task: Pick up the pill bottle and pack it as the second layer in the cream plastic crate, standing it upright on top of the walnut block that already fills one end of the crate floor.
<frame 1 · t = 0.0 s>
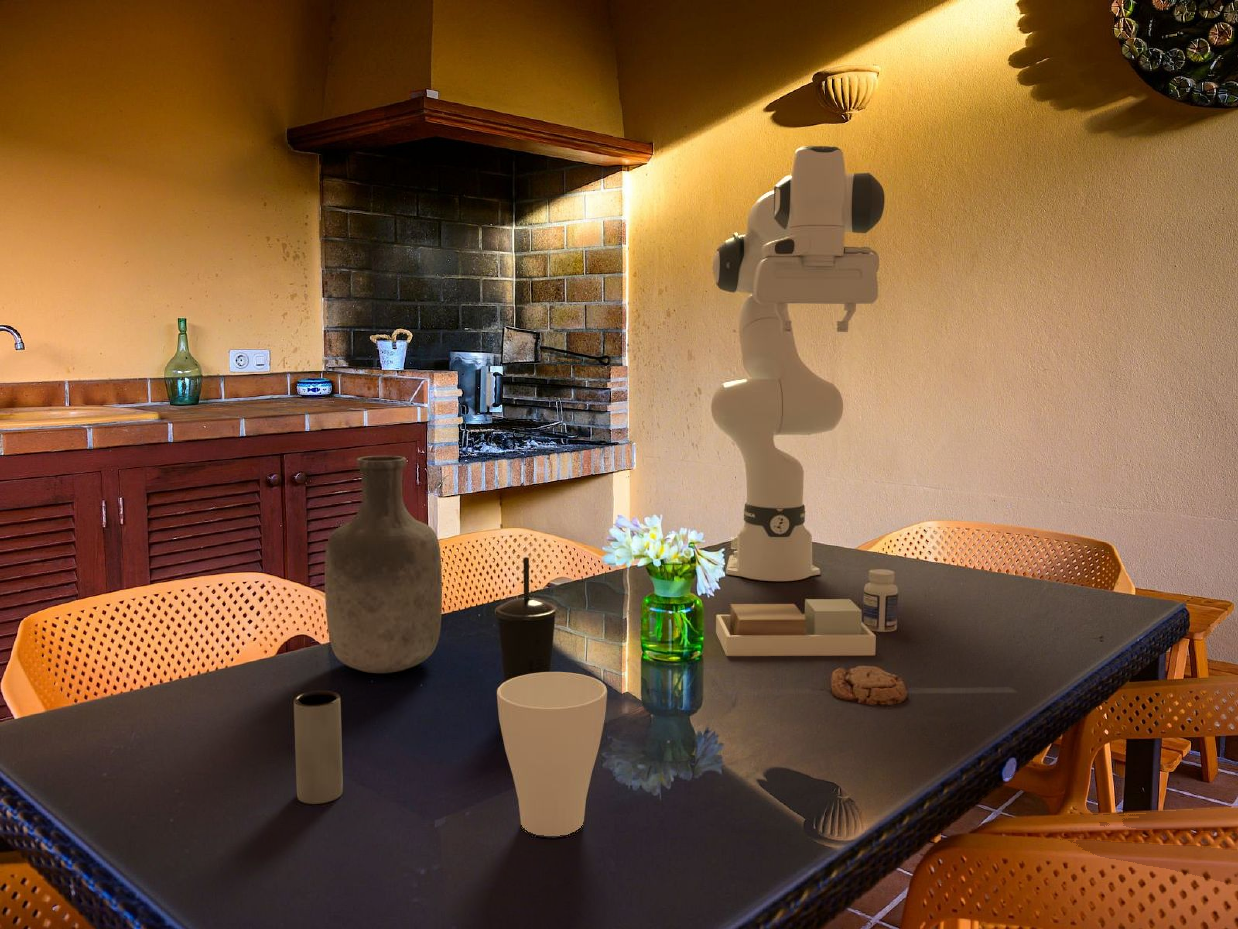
hand: (814, 331, 170), 48 cm above the table, fingers open, 8 cm apart
pill bottle: (879, 631, 167), on the table
planter: (320, 796, 106), on the table
cup: (552, 826, 100), on the table
cookie: (867, 695, 138), on the table
vase: (386, 669, 146), on the table
crate: (792, 647, 157), on the table
walnut block: (766, 643, 157), point 1 cm above the table, touching crate
pale green block: (831, 643, 157), point 1 cm above the table, touching crate
drinking cup: (527, 717, 128), on the table
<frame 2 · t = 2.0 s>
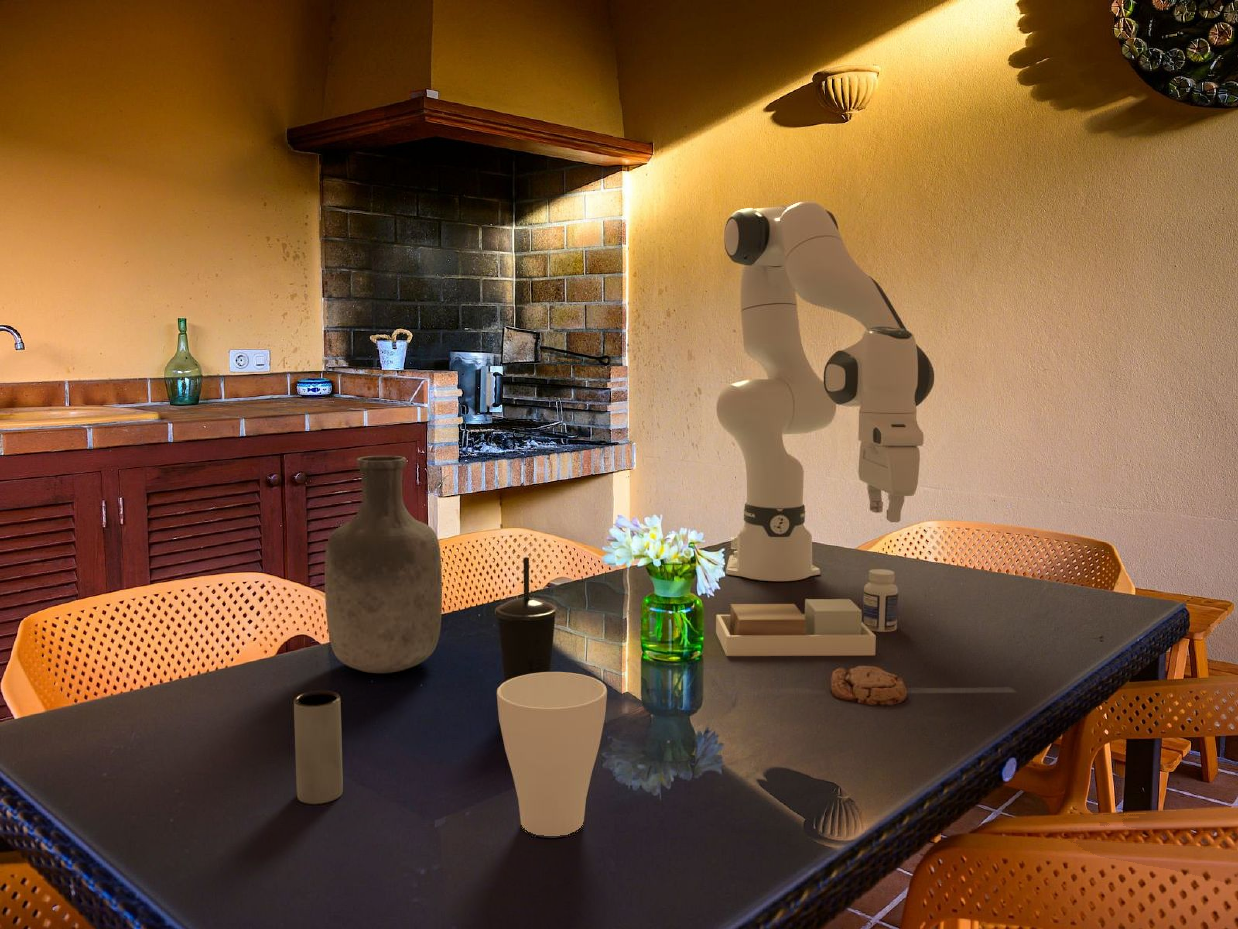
hand: (884, 516, 164), 19 cm above the table, fingers open, 8 cm apart
nothing on the table moved.
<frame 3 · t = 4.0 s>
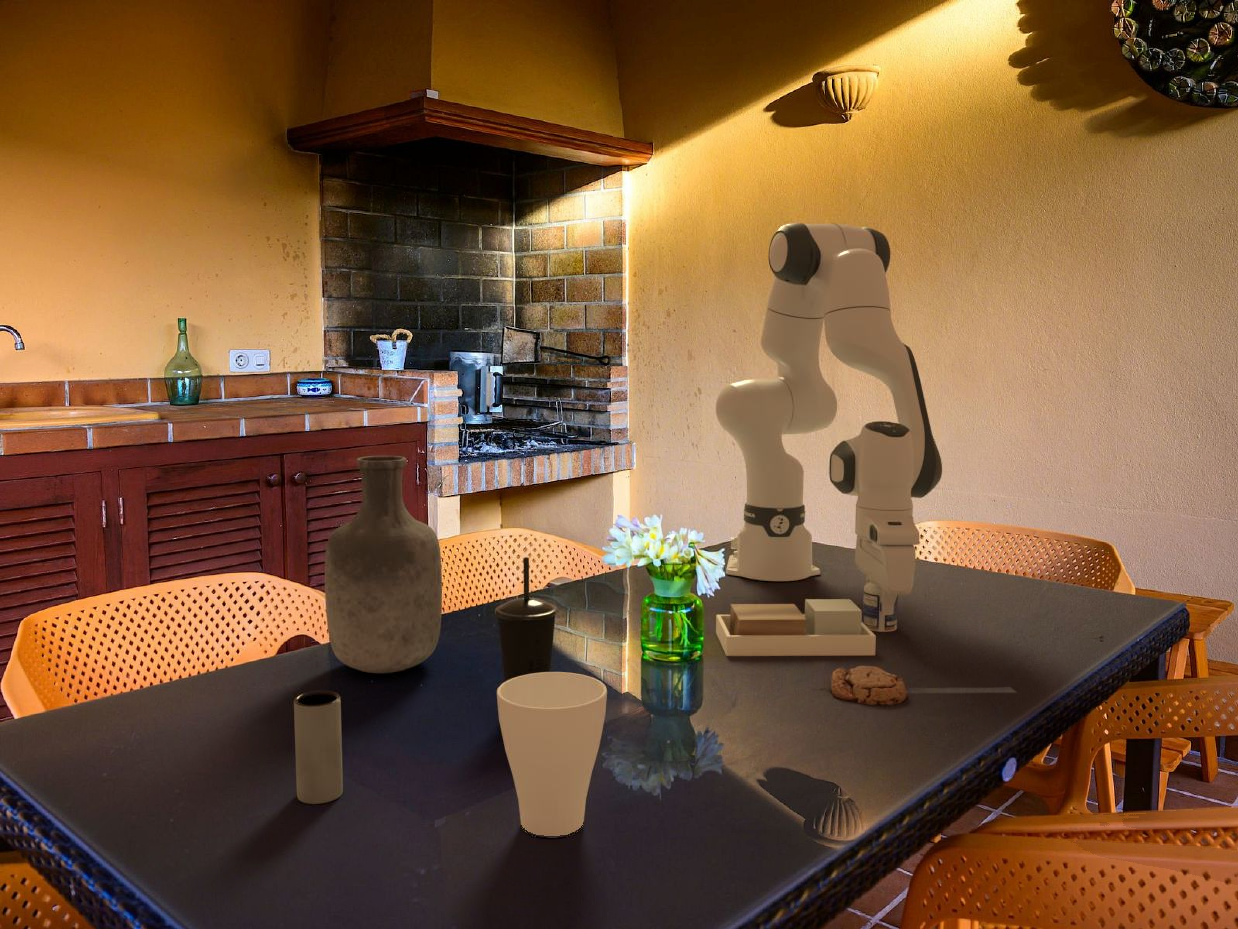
hand: (880, 608, 166), 4 cm above the table, fingers closed on pill bottle, 5 cm apart
pill bottle: (879, 631, 167), on the table, touching gripper
everything else where it was.
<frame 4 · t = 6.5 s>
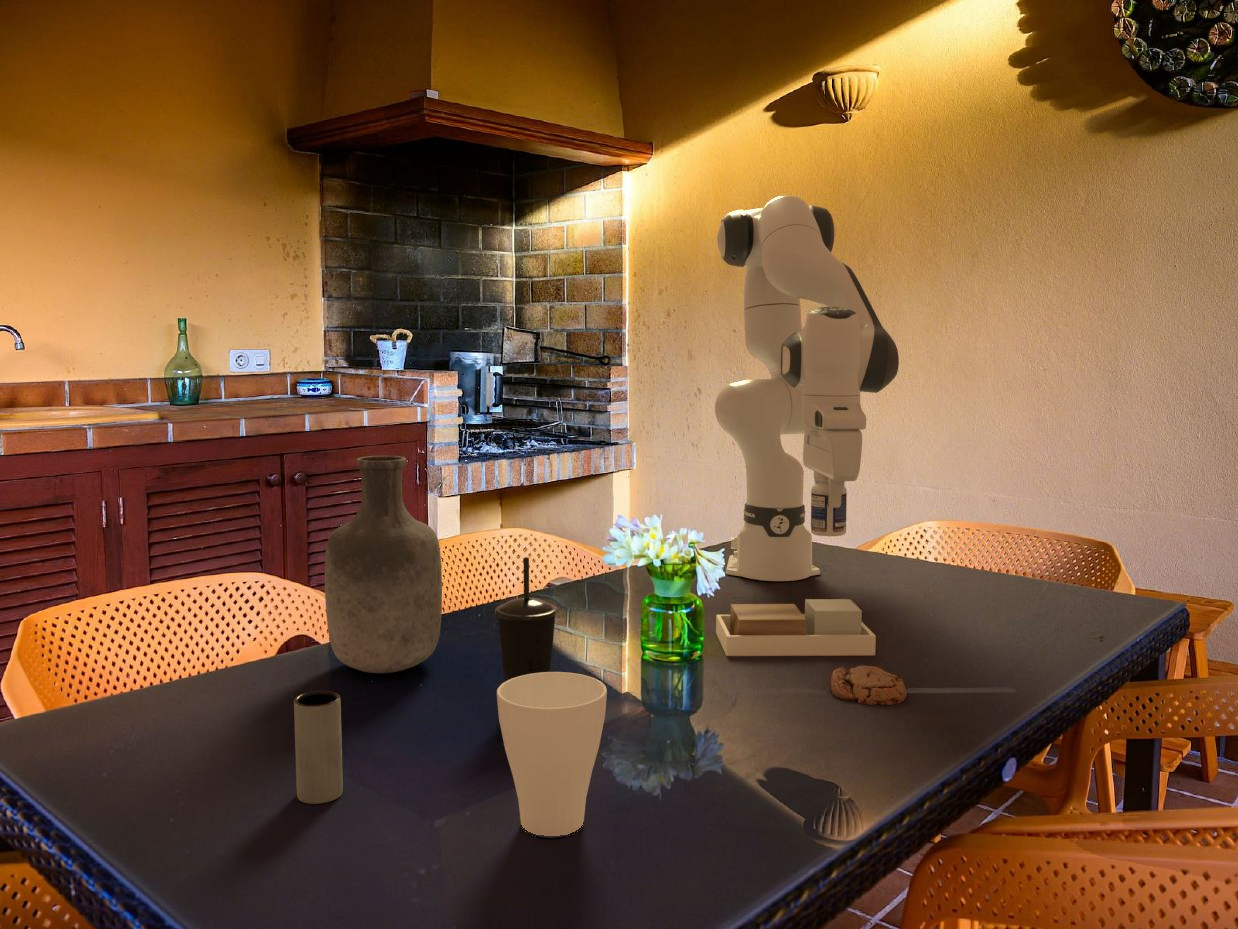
hand: (828, 503, 159), 22 cm above the table, fingers closed on pill bottle, 5 cm apart
pill bottle: (828, 535, 159), point 17 cm above the table, touching gripper
everything else where it was.
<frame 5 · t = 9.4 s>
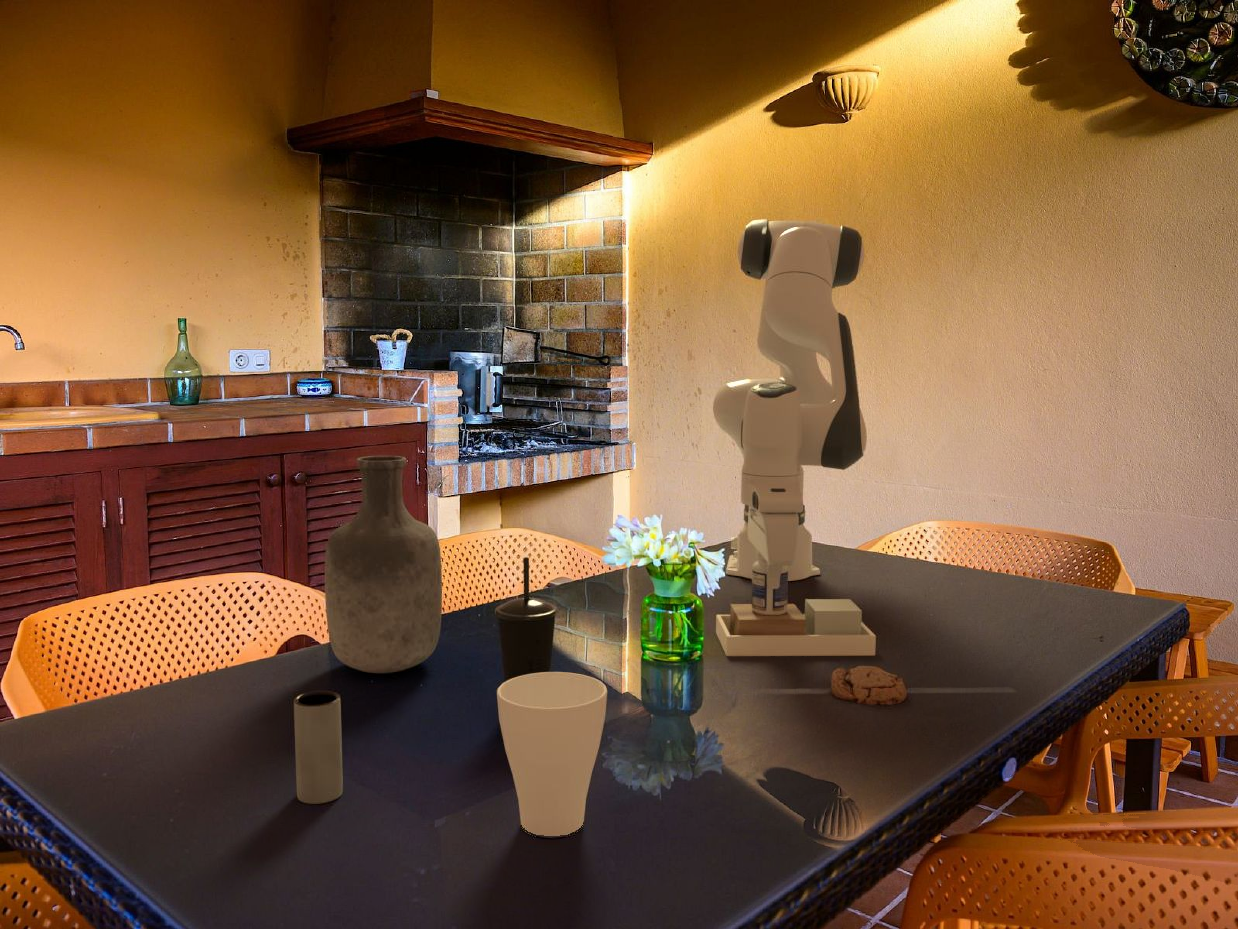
hand: (768, 582, 156), 10 cm above the table, fingers closed on pill bottle, 5 cm apart
pill bottle: (769, 612, 157), point 5 cm above the table, touching gripper, walnut block
walnut block: (766, 643, 157), point 1 cm above the table, touching crate, pill bottle
everything else where it was.
when the fingers open (10 cm above the table, at t = 10.0 s): pill bottle stays where it is, resting on walnut block.
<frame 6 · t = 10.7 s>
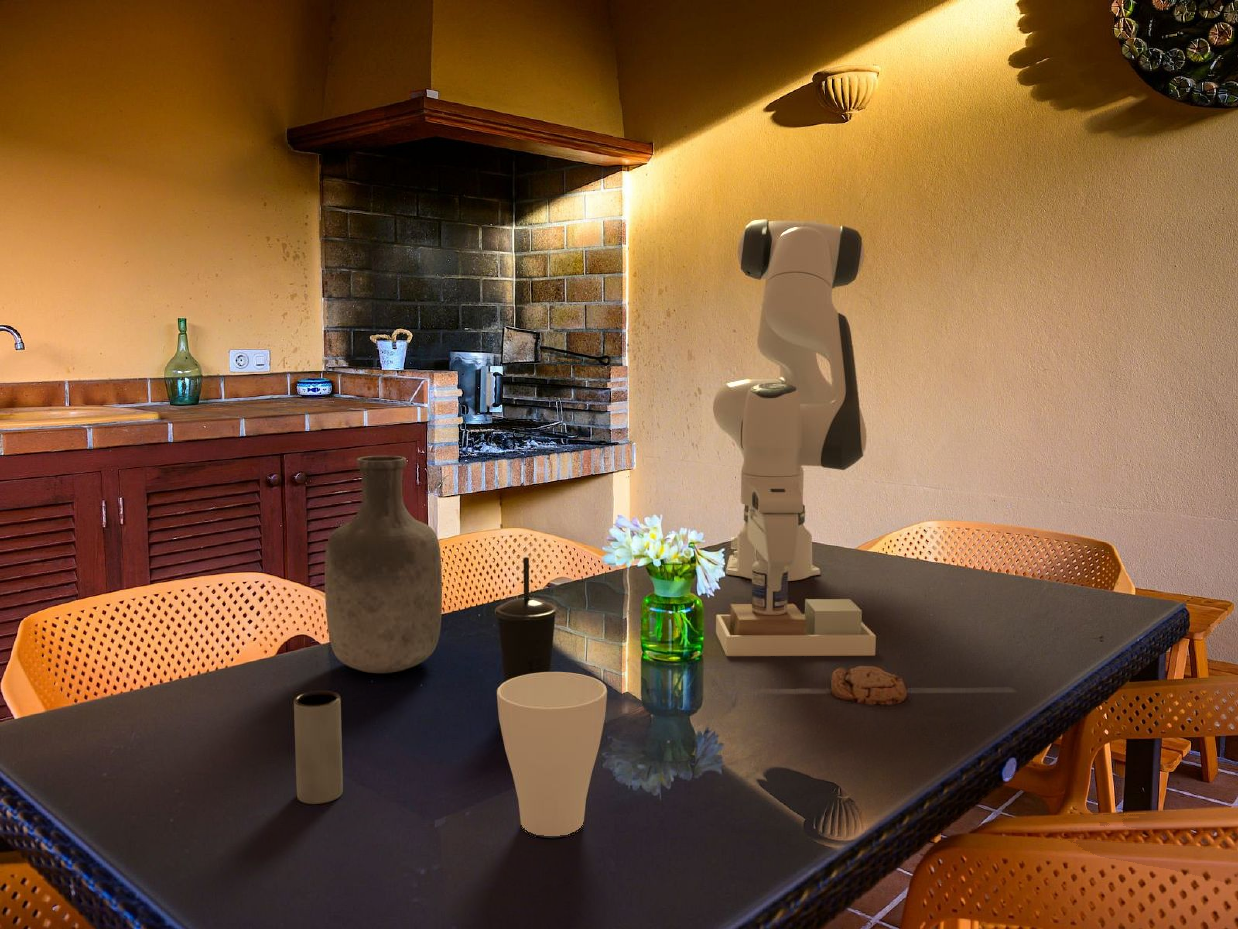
hand: (768, 582, 156), 10 cm above the table, fingers open, 8 cm apart
pill bottle: (769, 612, 157), point 5 cm above the table, touching walnut block
everything else where it was.
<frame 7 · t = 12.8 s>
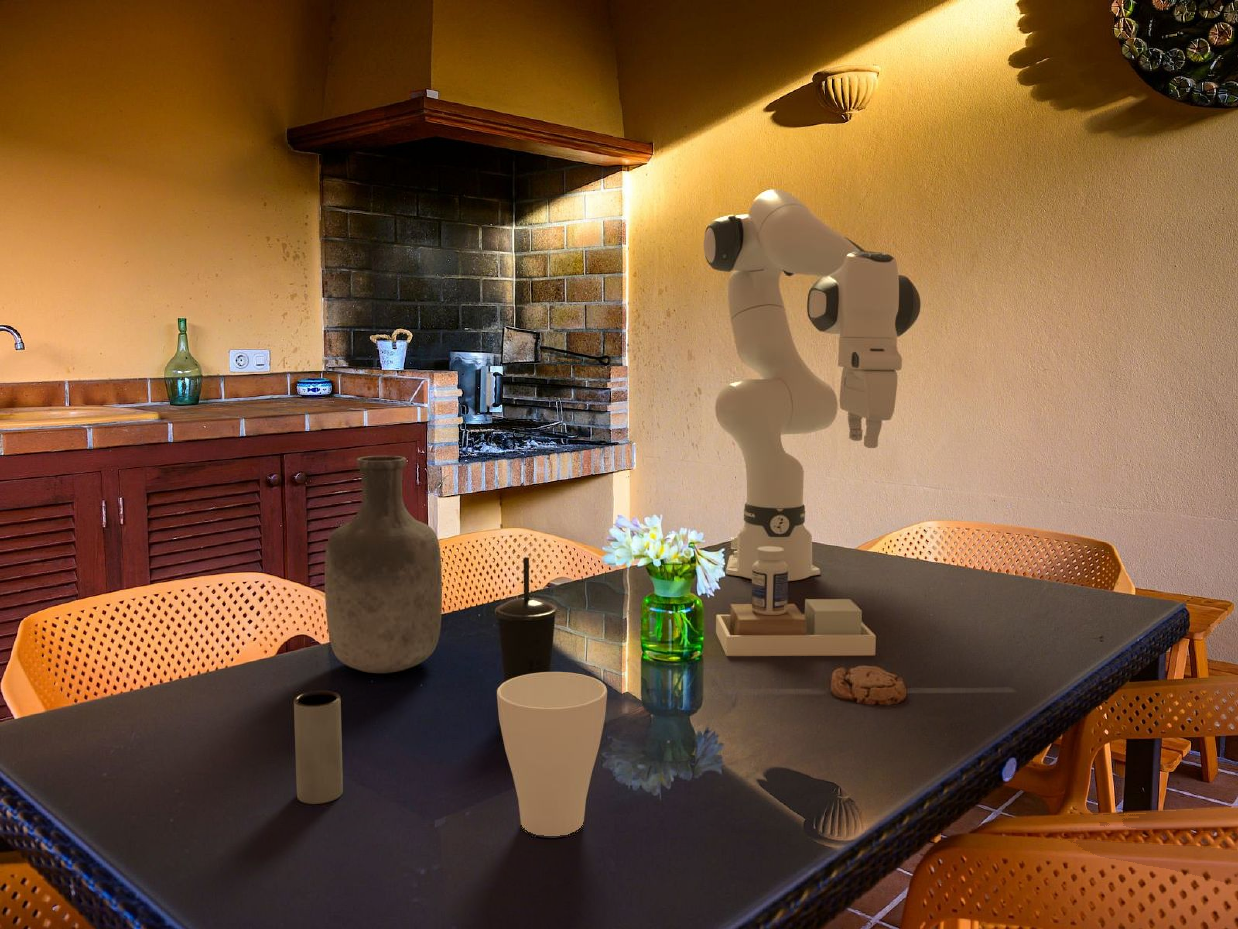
hand: (862, 443, 163), 30 cm above the table, fingers open, 8 cm apart
nothing on the table moved.
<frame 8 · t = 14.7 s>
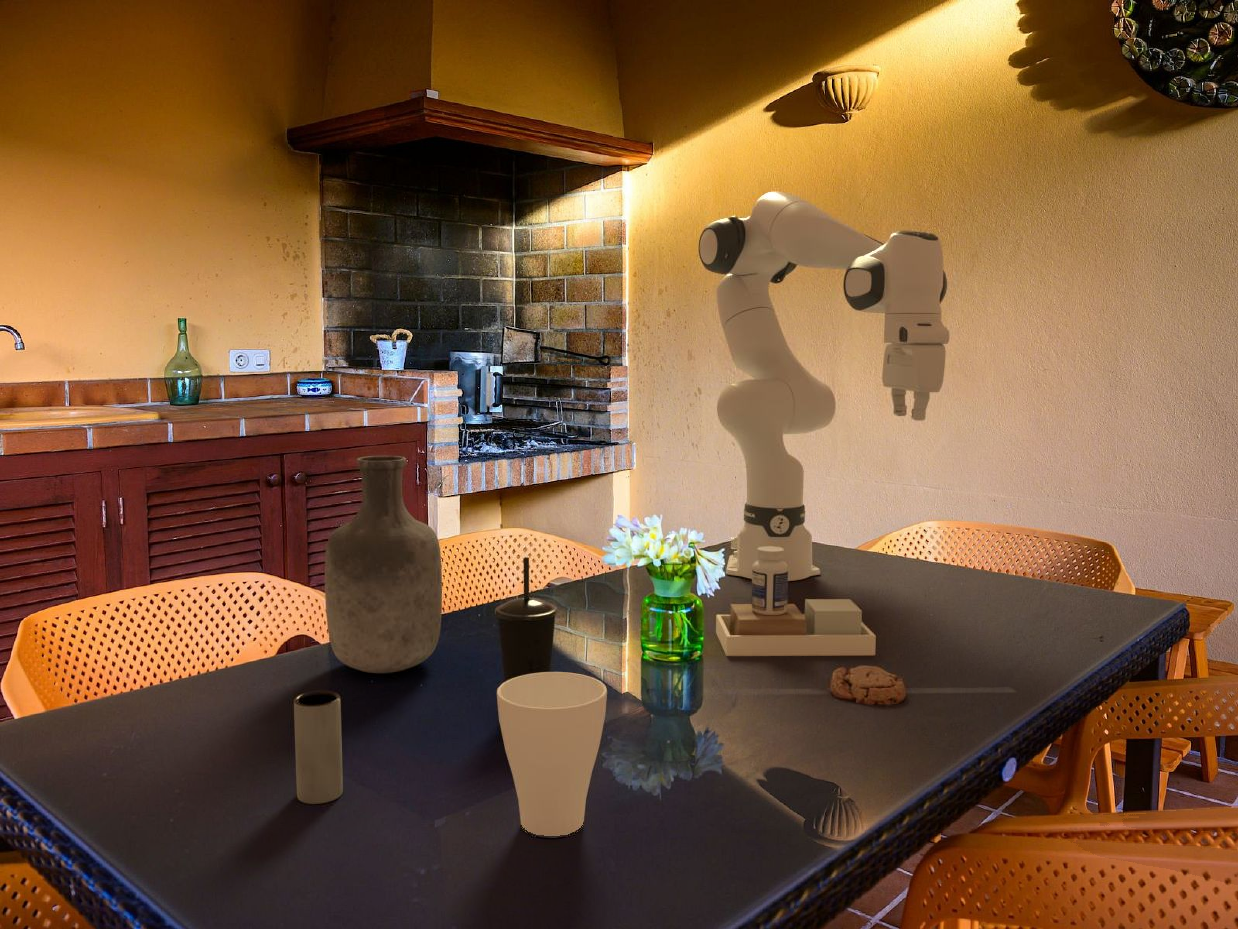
hand: (908, 418, 168), 34 cm above the table, fingers open, 8 cm apart
nothing on the table moved.
at the end: pill bottle inside the target area on the walnut block (0.3 cm from its centre), point 4.8 cm above the walnut block's base; pill bottle tilted 0°; the gripper is holding nothing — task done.
